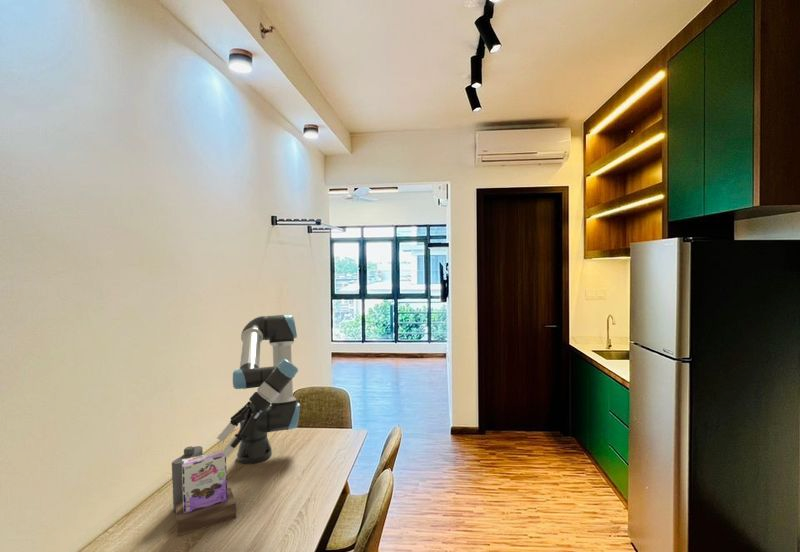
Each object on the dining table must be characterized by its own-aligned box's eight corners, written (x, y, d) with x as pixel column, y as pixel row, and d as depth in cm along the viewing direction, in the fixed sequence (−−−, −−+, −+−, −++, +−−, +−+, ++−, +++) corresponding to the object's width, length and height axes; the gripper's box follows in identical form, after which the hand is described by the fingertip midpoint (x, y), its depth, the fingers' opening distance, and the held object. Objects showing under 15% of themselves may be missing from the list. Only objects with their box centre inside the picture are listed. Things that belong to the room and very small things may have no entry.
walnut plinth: (176, 517, 142) (175, 503, 142) (231, 500, 151) (230, 487, 151) (177, 536, 131) (177, 521, 131) (236, 517, 141) (235, 503, 141)
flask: (186, 512, 144) (183, 457, 144) (170, 512, 145) (168, 457, 144) (208, 489, 159) (206, 439, 159) (194, 489, 160) (192, 439, 159)
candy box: (183, 514, 135) (181, 465, 134) (182, 505, 140) (181, 458, 140) (228, 501, 142) (226, 455, 141) (225, 493, 147) (224, 448, 146)
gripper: (279, 412, 141) (236, 466, 134) (264, 393, 163) (226, 439, 155) (263, 400, 138) (217, 455, 131) (250, 383, 160) (210, 429, 153)
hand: (222, 446), depth 143 cm, fingers open, 13 cm apart
